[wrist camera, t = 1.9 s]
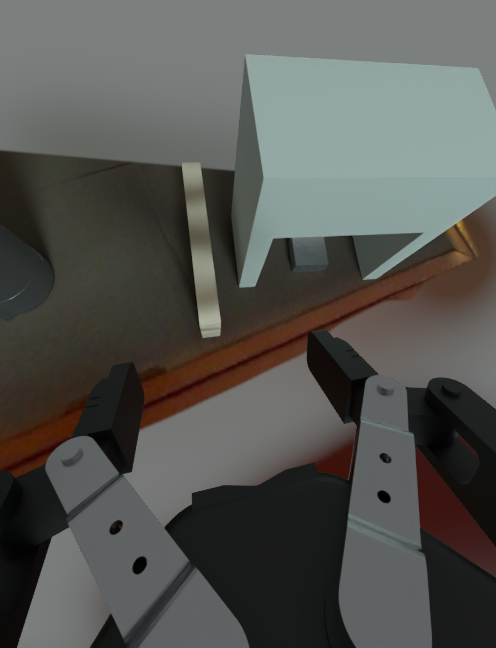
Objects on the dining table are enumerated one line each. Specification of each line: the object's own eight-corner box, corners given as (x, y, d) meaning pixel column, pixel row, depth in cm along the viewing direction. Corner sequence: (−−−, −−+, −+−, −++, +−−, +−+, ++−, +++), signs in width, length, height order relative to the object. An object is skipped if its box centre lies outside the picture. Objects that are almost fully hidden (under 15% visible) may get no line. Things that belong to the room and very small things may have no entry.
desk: (376, 278, 42) (523, 176, 22) (239, 287, 39) (263, 178, 19) (359, 206, 45) (474, 58, 25) (230, 209, 42) (243, 43, 22)
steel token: (322, 271, 42) (328, 264, 40) (291, 272, 41) (295, 265, 39) (317, 242, 43) (323, 234, 41) (287, 243, 42) (291, 234, 40)
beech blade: (219, 335, 37) (220, 322, 30) (202, 338, 37) (199, 325, 30) (202, 201, 42) (200, 162, 35) (187, 201, 42) (181, 162, 35)
